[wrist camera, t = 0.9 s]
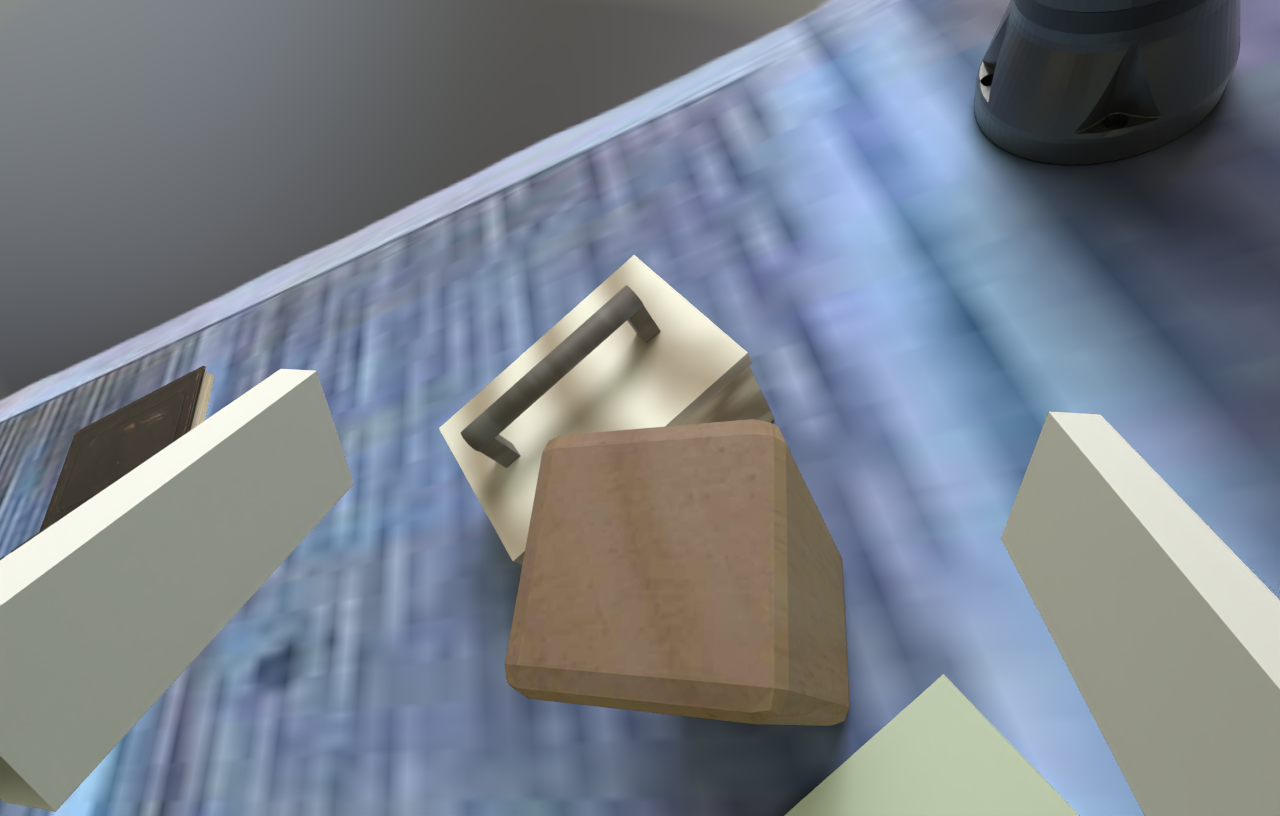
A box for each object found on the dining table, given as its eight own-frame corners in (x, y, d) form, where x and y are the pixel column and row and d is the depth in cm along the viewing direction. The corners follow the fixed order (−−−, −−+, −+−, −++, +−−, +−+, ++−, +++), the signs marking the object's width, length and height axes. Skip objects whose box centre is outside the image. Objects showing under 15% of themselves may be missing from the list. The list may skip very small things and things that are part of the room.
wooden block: (680, 709, 37) (487, 694, 21) (689, 546, 41) (536, 427, 25) (852, 727, 33) (782, 728, 17) (843, 546, 37) (780, 405, 21)
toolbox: (677, 325, 50) (608, 213, 39) (784, 423, 42) (735, 318, 31) (512, 473, 50) (396, 402, 39) (589, 597, 42) (472, 552, 31)
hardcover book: (95, 438, 81) (75, 431, 79) (220, 374, 76) (203, 365, 74) (56, 551, 73) (33, 547, 71) (195, 488, 67) (174, 481, 65)
